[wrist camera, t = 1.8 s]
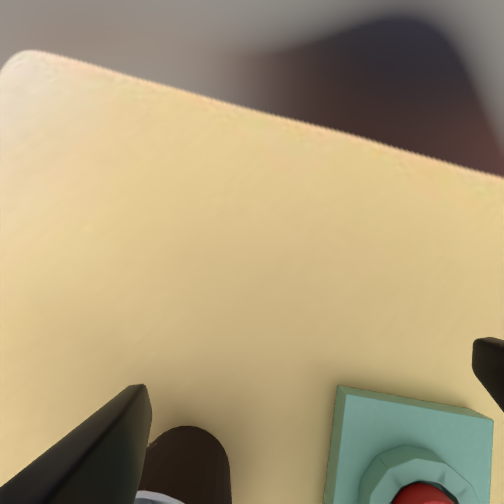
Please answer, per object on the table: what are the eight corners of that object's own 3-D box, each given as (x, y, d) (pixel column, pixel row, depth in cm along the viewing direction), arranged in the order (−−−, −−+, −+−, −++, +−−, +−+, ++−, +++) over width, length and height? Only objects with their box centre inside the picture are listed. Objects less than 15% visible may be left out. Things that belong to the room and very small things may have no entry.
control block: (460, 593, 21) (507, 659, 17) (315, 564, 22) (329, 623, 18) (471, 409, 23) (516, 431, 19) (337, 384, 24) (354, 401, 20)
